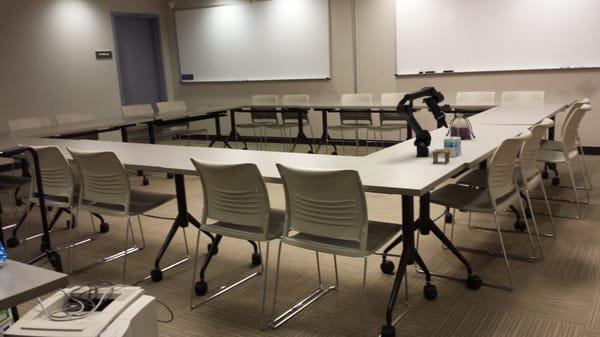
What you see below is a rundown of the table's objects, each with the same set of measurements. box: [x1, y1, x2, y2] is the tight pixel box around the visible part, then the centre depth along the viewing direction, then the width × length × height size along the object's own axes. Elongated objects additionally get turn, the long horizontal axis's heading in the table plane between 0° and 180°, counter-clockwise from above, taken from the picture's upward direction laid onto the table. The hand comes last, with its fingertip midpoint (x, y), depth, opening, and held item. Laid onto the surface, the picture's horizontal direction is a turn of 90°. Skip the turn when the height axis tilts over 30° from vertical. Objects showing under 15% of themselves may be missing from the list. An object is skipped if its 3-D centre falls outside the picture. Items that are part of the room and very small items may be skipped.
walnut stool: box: [431, 148, 450, 165], centre depth 293 cm, size 8×8×7 cm
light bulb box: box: [443, 136, 462, 158], centre depth 311 cm, size 11×7×11 cm, turn 143°
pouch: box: [445, 112, 476, 140], centre depth 370 cm, size 25×8×19 cm, turn 44°
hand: (447, 127), depth 316 cm, fingers open, 9 cm apart
